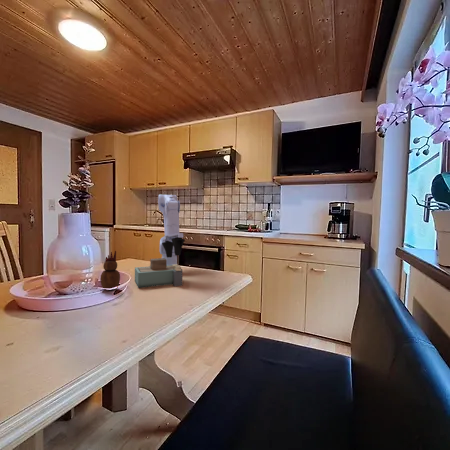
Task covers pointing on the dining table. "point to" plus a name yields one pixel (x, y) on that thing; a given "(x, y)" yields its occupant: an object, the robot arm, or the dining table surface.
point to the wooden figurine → (110, 273)
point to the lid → (157, 265)
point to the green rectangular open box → (157, 278)
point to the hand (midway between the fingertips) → (173, 256)
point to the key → (176, 267)
